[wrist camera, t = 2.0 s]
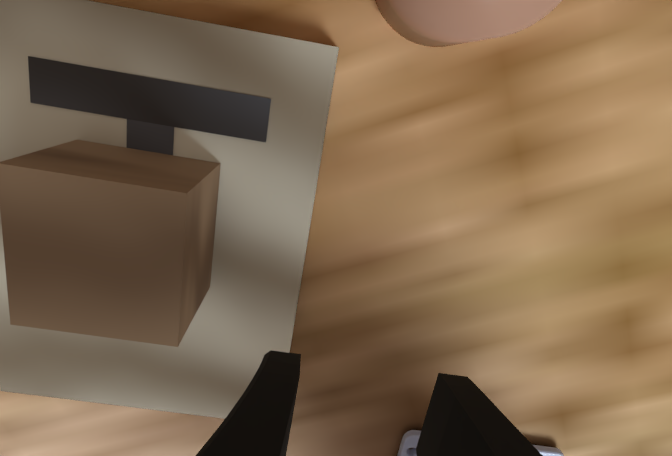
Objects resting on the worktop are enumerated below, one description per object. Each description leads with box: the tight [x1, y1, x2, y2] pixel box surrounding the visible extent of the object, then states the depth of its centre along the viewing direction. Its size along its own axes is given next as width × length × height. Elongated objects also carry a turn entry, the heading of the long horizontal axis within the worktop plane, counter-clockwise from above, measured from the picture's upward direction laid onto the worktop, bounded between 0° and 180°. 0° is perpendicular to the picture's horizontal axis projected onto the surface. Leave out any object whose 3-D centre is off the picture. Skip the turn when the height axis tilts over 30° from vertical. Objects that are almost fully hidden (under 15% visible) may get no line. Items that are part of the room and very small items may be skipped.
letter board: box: [0, 0, 339, 419], centre depth 17 cm, size 16×12×1 cm
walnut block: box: [0, 140, 221, 347], centre depth 15 cm, size 5×5×4 cm
